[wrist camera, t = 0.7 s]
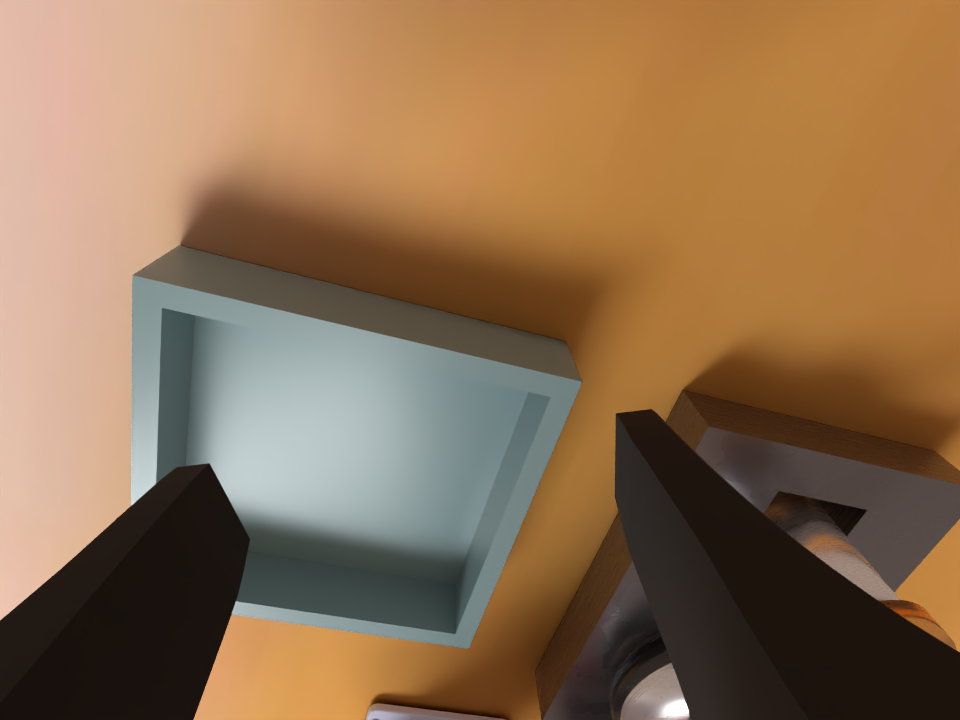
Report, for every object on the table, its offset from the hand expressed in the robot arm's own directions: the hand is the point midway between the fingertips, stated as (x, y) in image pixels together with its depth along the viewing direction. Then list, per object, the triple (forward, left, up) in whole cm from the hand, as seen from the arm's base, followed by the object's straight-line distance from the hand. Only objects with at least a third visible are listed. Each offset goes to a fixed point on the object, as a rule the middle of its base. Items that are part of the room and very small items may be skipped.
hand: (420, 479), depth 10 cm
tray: (-8, +2, -10) cm, 13 cm away
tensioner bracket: (-11, -16, -10) cm, 22 cm away
